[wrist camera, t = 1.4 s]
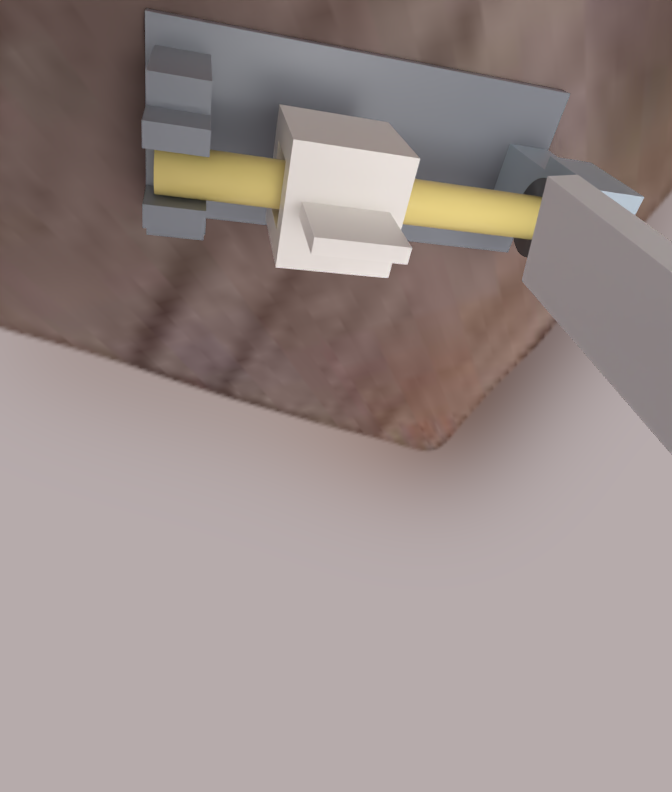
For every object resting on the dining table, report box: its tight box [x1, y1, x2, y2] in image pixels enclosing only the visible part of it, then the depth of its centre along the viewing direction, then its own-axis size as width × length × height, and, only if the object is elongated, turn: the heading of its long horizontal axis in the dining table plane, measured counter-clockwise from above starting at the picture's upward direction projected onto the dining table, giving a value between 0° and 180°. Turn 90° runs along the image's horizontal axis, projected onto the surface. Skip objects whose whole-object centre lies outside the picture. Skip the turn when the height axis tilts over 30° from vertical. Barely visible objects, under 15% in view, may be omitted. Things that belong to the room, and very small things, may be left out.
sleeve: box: [266, 104, 420, 278], centre depth 29 cm, size 6×6×10 cm
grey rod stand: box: [142, 8, 644, 258], centre depth 34 cm, size 26×11×12 cm, turn 79°
